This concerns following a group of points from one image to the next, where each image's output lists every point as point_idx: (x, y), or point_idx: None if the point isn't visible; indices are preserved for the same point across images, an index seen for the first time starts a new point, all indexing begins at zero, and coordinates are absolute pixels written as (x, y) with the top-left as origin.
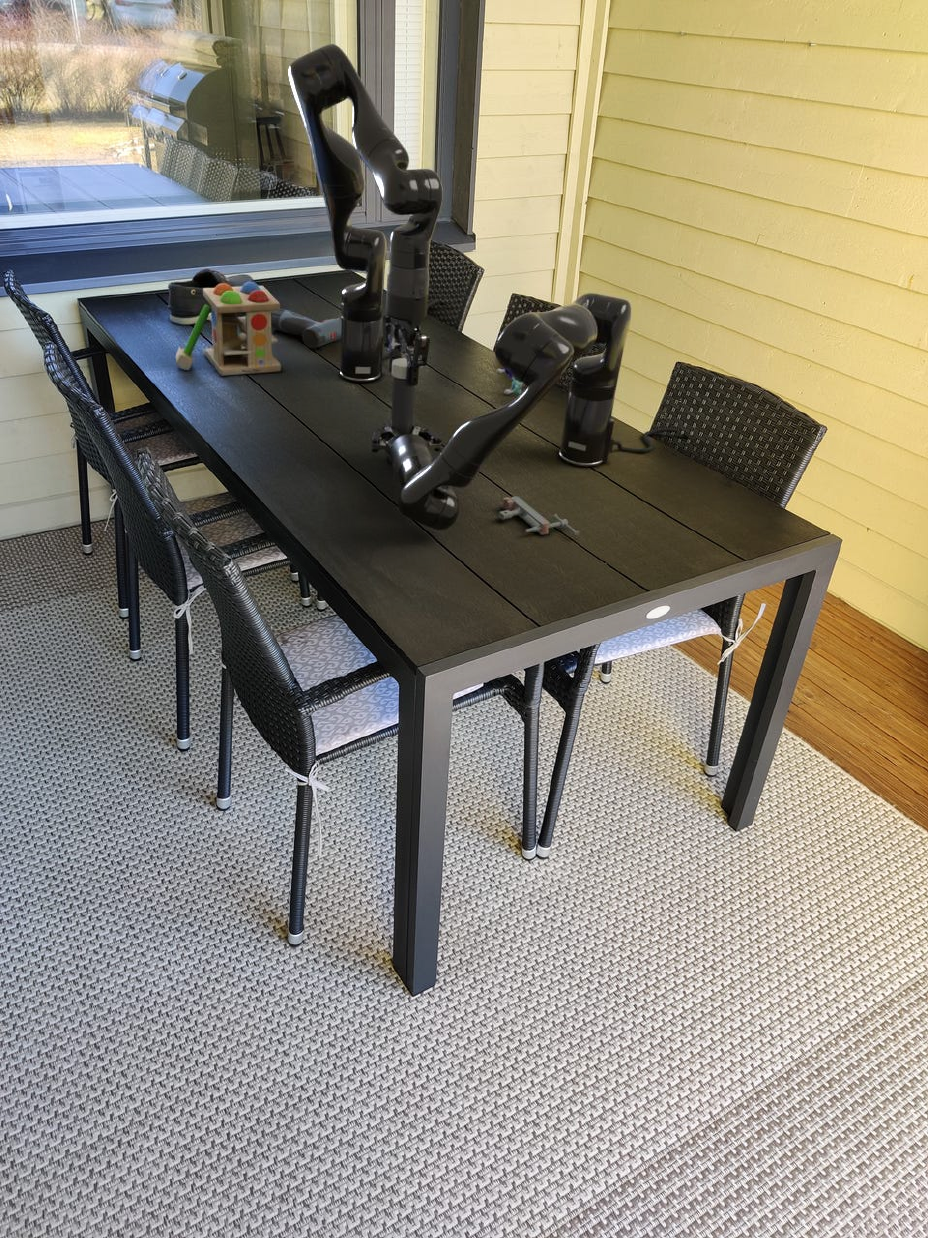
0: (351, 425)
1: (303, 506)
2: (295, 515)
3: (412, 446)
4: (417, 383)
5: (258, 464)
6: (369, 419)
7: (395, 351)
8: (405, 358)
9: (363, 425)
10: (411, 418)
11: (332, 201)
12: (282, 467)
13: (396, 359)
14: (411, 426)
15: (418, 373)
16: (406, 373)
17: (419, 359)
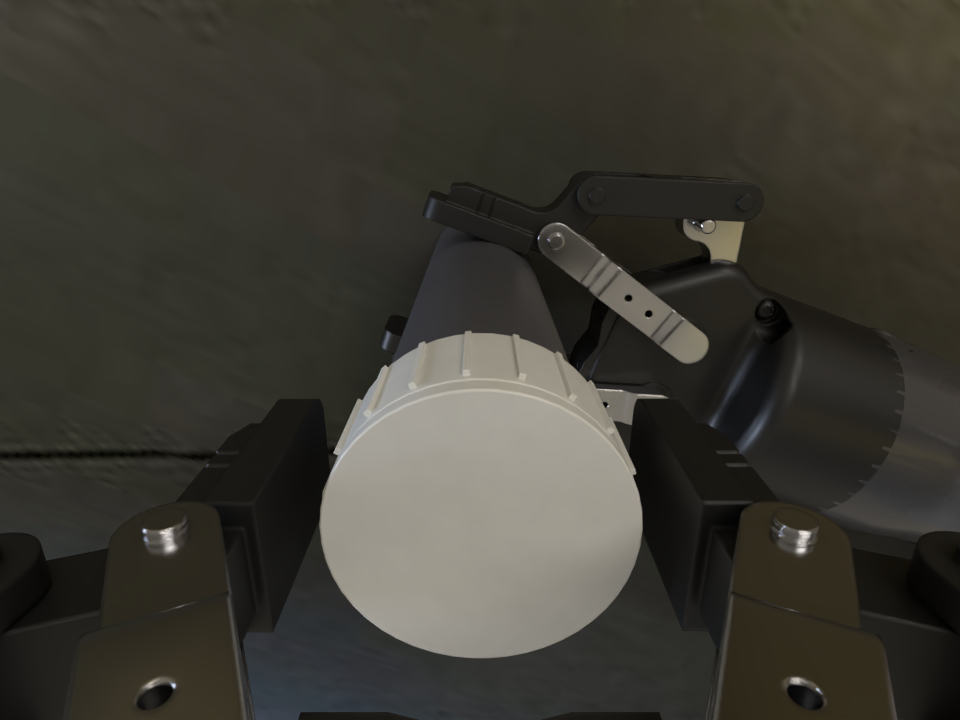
0: (72, 284)
1: (645, 672)
2: (681, 704)
3: (907, 493)
4: (674, 399)
5: (335, 683)
6: (10, 171)
7: (236, 607)
8: (347, 466)
9: (79, 232)
10: (538, 286)
11: None
12: (379, 636)
13: (349, 574)
14: (531, 269)
15: (762, 480)
16: (657, 563)
17: (946, 662)
